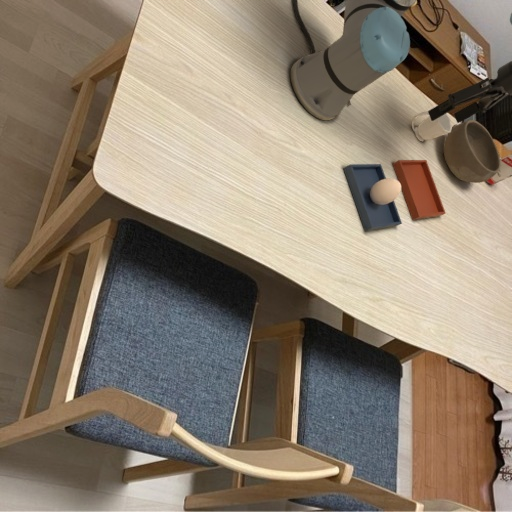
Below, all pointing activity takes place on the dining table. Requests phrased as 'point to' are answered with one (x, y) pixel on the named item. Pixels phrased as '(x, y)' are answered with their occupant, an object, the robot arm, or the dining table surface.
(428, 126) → the cup
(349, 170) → the blue tray
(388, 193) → the egg
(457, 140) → the bowl
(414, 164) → the terracotta tray
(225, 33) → the dining table surface
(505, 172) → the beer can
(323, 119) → the robot arm
